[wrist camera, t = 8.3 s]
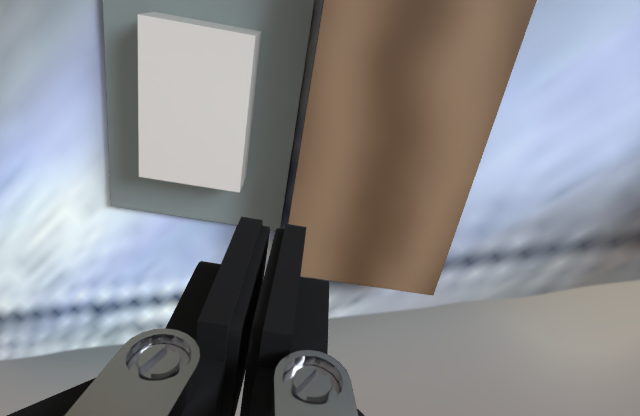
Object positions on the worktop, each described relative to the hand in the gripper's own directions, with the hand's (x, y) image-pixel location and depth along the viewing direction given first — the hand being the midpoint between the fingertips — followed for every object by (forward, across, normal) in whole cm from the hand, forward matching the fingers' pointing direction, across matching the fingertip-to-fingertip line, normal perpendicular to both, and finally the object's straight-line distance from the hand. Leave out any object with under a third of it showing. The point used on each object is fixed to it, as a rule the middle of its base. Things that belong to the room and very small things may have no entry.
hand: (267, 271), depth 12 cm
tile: (+15, +6, +1) cm, 16 cm away
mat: (+18, +6, +1) cm, 19 cm away
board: (+18, -5, +1) cm, 19 cm away
